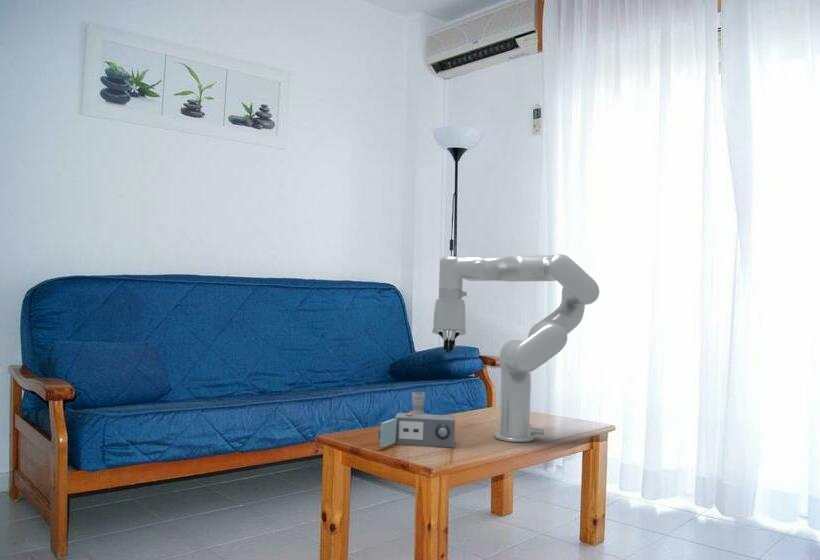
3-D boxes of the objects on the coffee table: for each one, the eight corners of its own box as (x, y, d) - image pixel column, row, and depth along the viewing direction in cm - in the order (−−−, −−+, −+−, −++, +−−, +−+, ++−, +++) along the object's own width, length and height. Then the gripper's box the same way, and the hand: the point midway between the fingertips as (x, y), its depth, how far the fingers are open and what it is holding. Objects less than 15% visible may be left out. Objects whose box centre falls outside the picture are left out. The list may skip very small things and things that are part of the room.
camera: (425, 391, 226) (446, 398, 212) (423, 424, 226) (445, 434, 212) (403, 391, 222) (423, 399, 208) (401, 426, 222) (421, 435, 208)
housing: (454, 441, 200) (455, 413, 200) (453, 448, 191) (454, 419, 191) (396, 438, 201) (397, 410, 202) (393, 444, 192) (394, 415, 193)
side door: (383, 447, 184) (383, 423, 185) (377, 446, 185) (378, 422, 185) (395, 442, 192) (396, 419, 192) (390, 441, 192) (391, 418, 193)
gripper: (473, 296, 210) (471, 352, 209) (427, 294, 211) (425, 350, 210) (473, 295, 202) (471, 354, 202) (426, 294, 203) (424, 352, 203)
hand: (448, 352), depth 206 cm, fingers closed
